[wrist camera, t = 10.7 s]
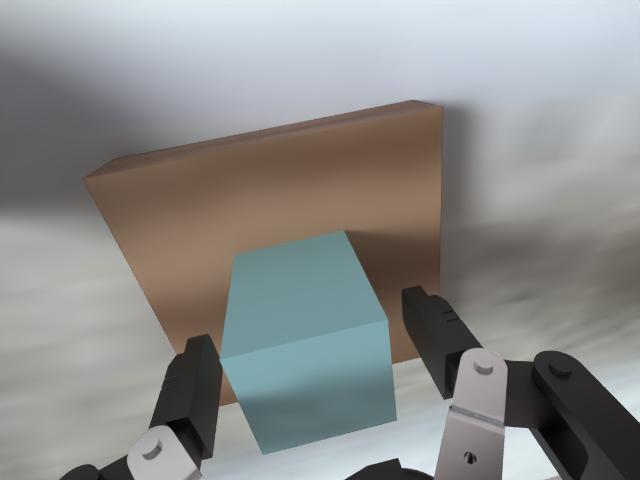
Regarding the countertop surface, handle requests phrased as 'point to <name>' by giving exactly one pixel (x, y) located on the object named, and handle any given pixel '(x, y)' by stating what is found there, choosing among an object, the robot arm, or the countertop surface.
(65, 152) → the countertop surface
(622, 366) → the countertop surface
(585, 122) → the countertop surface
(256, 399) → the teal block
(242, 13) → the countertop surface
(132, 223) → the walnut base
